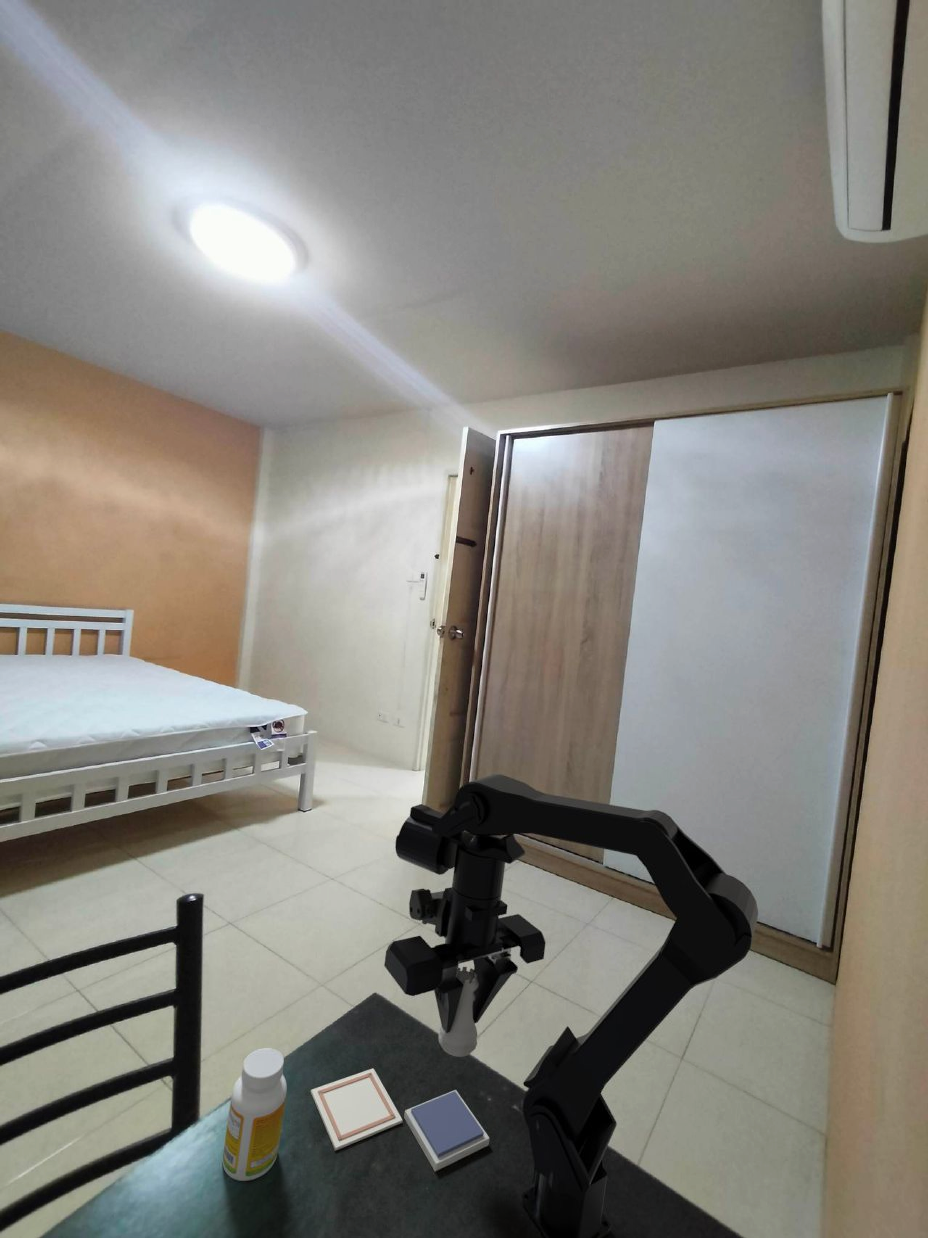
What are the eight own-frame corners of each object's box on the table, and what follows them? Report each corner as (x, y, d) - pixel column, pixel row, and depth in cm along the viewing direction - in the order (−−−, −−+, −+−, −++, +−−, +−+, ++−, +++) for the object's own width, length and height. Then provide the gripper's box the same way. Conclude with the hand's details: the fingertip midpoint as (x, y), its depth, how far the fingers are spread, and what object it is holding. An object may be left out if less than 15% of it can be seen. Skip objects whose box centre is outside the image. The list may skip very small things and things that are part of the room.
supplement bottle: (285, 1137, 60) (298, 1046, 60) (266, 1188, 55) (280, 1088, 55) (235, 1129, 60) (248, 1038, 60) (211, 1178, 55) (226, 1078, 55)
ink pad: (488, 1145, 62) (490, 1134, 62) (434, 1171, 59) (436, 1160, 59) (454, 1096, 68) (456, 1086, 68) (404, 1117, 64) (405, 1107, 64)
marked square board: (402, 1122, 64) (402, 1119, 64) (335, 1151, 59) (335, 1147, 59) (372, 1070, 70) (373, 1067, 70) (310, 1092, 66) (311, 1089, 66)
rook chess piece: (477, 1034, 66) (486, 965, 66) (475, 1063, 61) (484, 989, 62) (440, 1026, 66) (448, 958, 66) (435, 1054, 62) (444, 981, 62)
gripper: (499, 851, 76) (485, 967, 76) (373, 868, 66) (355, 1002, 65) (555, 888, 67) (539, 1020, 66) (418, 915, 57) (398, 1071, 56)
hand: (459, 1025), depth 64 cm, fingers closed on rook chess piece, 3 cm apart
